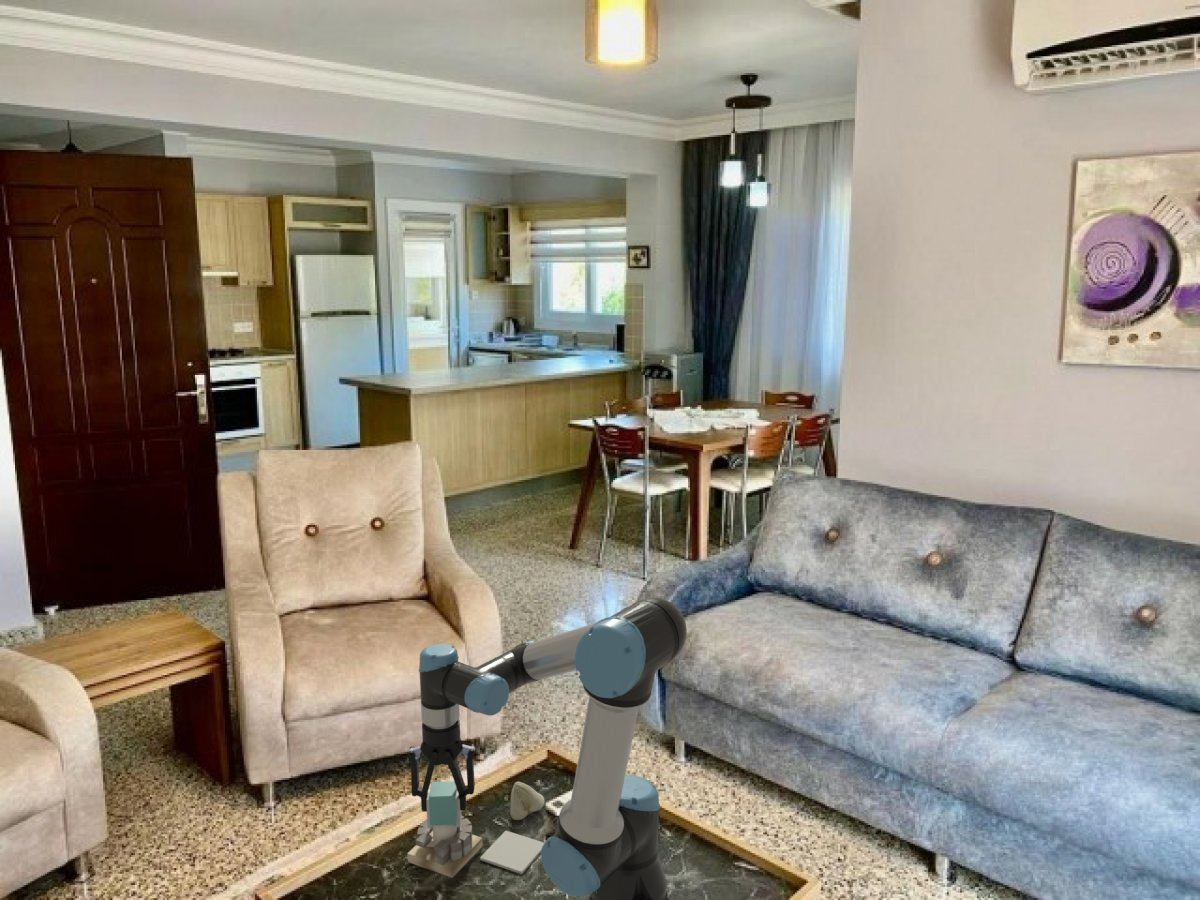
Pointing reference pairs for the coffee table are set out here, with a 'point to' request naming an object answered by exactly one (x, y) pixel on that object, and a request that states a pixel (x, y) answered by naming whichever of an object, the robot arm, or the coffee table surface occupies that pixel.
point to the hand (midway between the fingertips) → (444, 823)
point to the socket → (445, 849)
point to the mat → (513, 852)
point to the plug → (442, 811)
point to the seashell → (524, 801)
